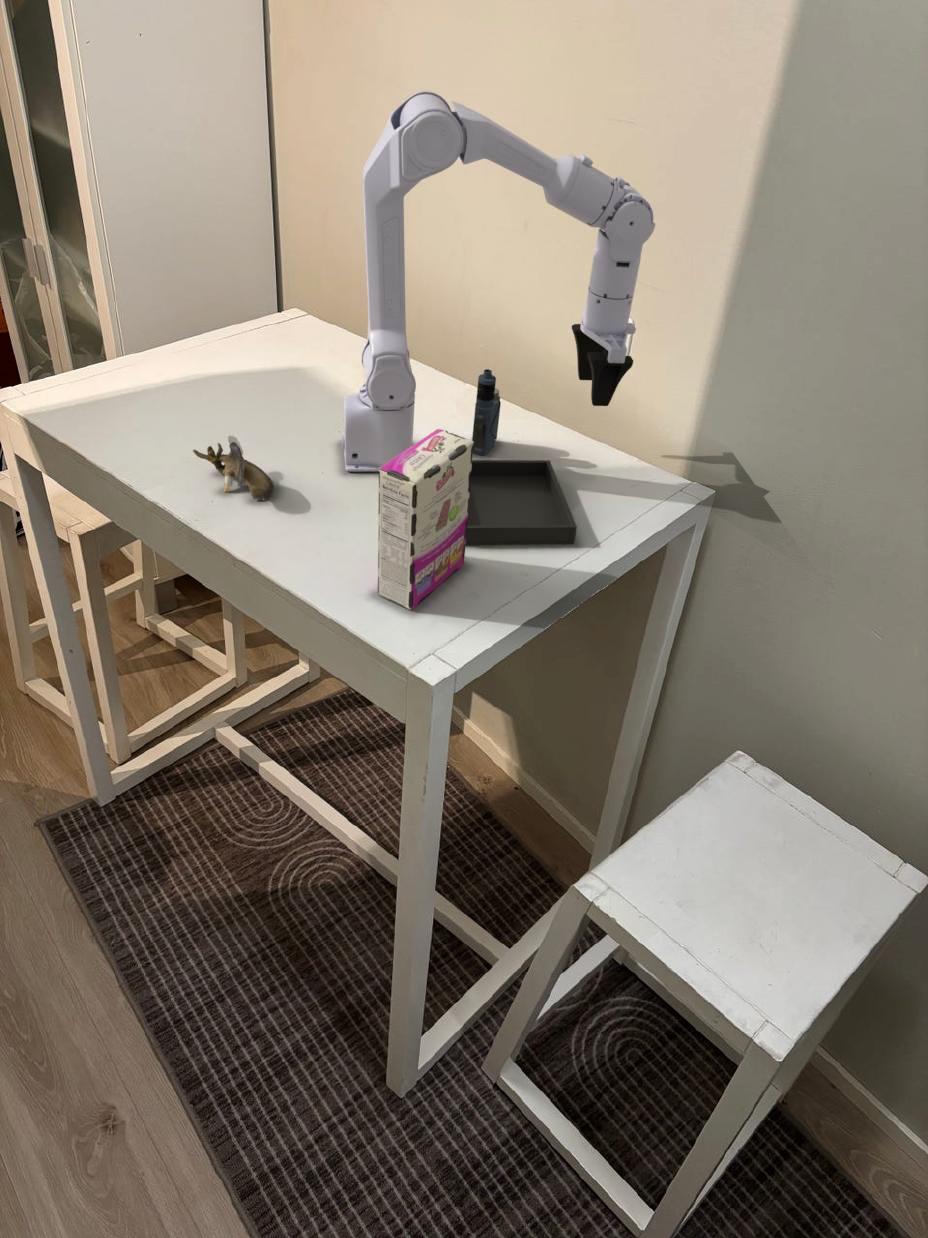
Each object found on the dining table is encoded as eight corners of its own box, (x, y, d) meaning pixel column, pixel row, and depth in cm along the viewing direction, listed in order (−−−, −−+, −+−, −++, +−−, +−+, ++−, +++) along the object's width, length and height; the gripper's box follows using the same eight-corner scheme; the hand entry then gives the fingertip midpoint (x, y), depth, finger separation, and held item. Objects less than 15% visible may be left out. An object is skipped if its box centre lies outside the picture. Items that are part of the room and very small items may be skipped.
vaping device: (467, 453, 133) (475, 372, 126) (481, 437, 137) (489, 357, 130) (485, 457, 133) (493, 376, 125) (498, 441, 137) (507, 362, 129)
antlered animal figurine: (184, 481, 120) (235, 495, 115) (197, 425, 119) (249, 436, 114) (229, 492, 126) (278, 505, 122) (241, 438, 126) (291, 450, 121)
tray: (459, 545, 116) (461, 528, 114) (443, 476, 128) (444, 459, 126) (574, 544, 118) (577, 527, 116) (547, 476, 130) (549, 460, 129)
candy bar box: (429, 550, 114) (438, 425, 104) (465, 566, 112) (477, 440, 102) (373, 595, 107) (376, 465, 96) (410, 613, 105) (417, 482, 94)
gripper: (658, 314, 115) (636, 417, 124) (626, 271, 126) (608, 369, 135) (601, 312, 114) (583, 416, 123) (574, 269, 125) (559, 368, 134)
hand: (593, 391), depth 129 cm, fingers open, 7 cm apart
